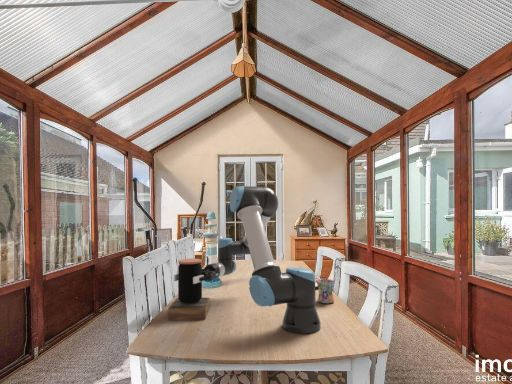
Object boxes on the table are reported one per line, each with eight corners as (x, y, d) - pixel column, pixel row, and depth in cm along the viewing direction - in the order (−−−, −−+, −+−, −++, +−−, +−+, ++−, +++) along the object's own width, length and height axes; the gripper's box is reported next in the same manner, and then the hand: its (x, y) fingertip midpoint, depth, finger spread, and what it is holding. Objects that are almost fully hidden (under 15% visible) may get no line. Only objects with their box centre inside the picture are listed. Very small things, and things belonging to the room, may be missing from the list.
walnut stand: (205, 319, 142) (205, 306, 142) (168, 320, 142) (168, 307, 142) (209, 308, 158) (209, 297, 158) (176, 309, 158) (176, 297, 158)
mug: (337, 304, 162) (337, 282, 163) (319, 305, 161) (318, 283, 162) (330, 297, 174) (329, 277, 175) (313, 298, 173) (312, 278, 174)
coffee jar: (206, 298, 152) (206, 259, 153) (190, 304, 143) (190, 263, 144) (189, 295, 158) (189, 257, 158) (173, 301, 148) (173, 261, 149)
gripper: (233, 280, 160) (204, 290, 141) (196, 276, 172) (165, 284, 153) (232, 265, 160) (204, 273, 141) (196, 261, 172) (165, 268, 153)
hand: (183, 279), depth 147 cm, fingers open, 11 cm apart
